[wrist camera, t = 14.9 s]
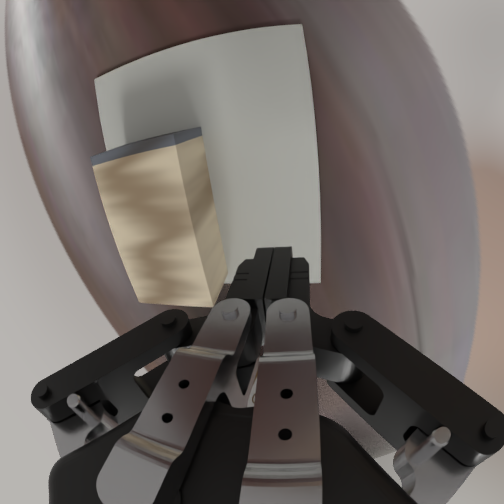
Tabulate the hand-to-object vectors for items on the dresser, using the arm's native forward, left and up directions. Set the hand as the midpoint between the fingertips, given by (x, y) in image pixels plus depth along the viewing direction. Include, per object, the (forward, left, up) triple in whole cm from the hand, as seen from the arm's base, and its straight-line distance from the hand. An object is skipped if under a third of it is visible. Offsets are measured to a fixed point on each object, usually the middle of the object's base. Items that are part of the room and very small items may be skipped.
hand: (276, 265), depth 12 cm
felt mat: (+3, +5, -7) cm, 9 cm away
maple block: (+6, +8, -5) cm, 11 cm away
